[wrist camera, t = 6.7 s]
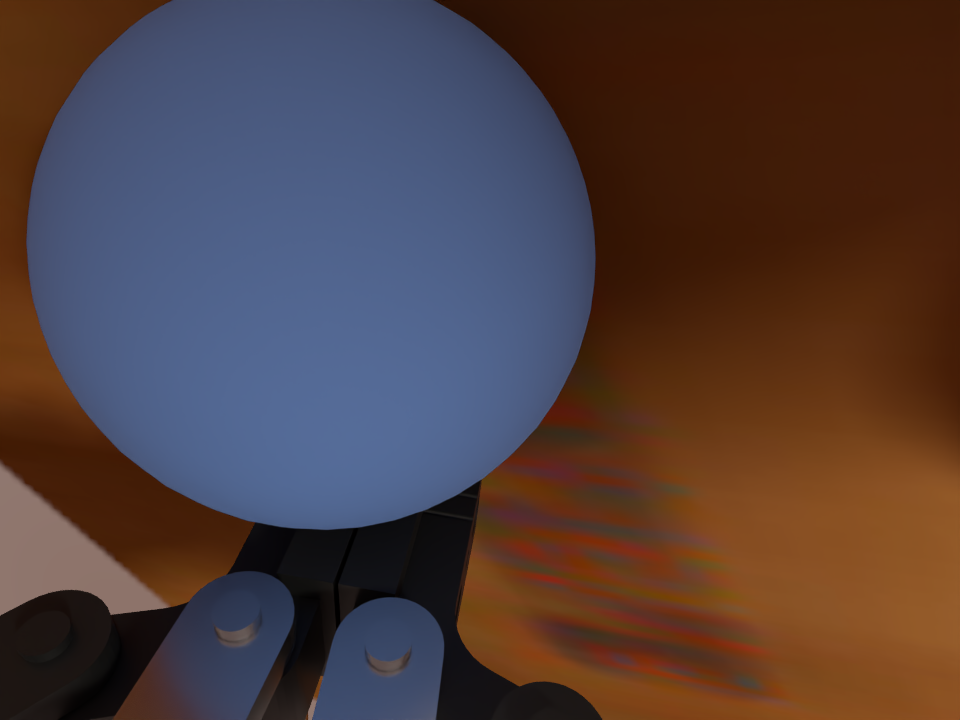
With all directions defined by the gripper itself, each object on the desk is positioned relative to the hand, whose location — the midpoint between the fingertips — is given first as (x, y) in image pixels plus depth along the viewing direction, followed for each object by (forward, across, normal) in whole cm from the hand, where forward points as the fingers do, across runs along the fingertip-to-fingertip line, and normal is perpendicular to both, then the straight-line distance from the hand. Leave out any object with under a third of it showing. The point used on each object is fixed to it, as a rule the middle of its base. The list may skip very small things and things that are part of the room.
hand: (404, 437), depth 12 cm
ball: (-2, +1, -4) cm, 4 cm away
